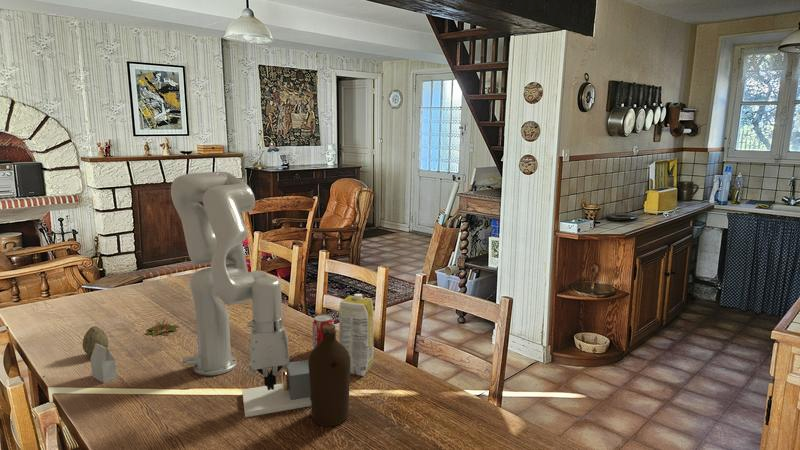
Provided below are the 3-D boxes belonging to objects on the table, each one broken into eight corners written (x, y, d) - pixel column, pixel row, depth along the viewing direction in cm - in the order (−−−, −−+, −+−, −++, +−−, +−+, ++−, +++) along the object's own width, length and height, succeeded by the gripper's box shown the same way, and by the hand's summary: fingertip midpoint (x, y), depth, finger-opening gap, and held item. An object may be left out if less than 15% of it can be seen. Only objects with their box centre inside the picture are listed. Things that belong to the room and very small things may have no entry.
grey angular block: (104, 383, 150) (100, 351, 148) (92, 376, 154) (88, 345, 152) (116, 378, 153) (113, 346, 151) (105, 372, 157) (101, 341, 155)
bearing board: (245, 417, 134) (243, 386, 132) (242, 394, 145) (241, 366, 143) (347, 399, 143) (346, 370, 141) (337, 379, 154) (336, 352, 152)
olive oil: (359, 415, 135) (359, 325, 131) (329, 433, 128) (327, 338, 123) (331, 401, 142) (330, 315, 137) (301, 417, 134) (298, 326, 129)
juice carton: (375, 366, 162) (375, 293, 158) (365, 378, 155) (365, 302, 150) (348, 362, 165) (347, 290, 160) (337, 373, 158) (336, 298, 153)
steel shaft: (284, 394, 140) (283, 375, 139) (281, 385, 145) (281, 366, 144) (337, 386, 145) (337, 367, 144) (332, 377, 150) (332, 359, 149)
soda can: (330, 357, 168) (329, 322, 166) (309, 355, 170) (308, 320, 167) (337, 348, 175) (336, 314, 173) (317, 346, 177) (316, 312, 174)
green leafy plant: (186, 326, 194) (185, 314, 193) (169, 339, 182) (168, 327, 181) (155, 324, 195) (154, 313, 194) (136, 337, 183) (135, 325, 182)
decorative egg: (114, 353, 169) (111, 324, 167) (93, 362, 163) (90, 332, 161) (99, 349, 172) (96, 320, 170) (79, 357, 166) (75, 328, 164)
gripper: (239, 333, 131) (242, 399, 135) (298, 325, 137) (300, 389, 140) (237, 322, 138) (240, 385, 142) (293, 315, 144) (295, 376, 147)
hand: (270, 387), depth 141 cm, fingers closed
